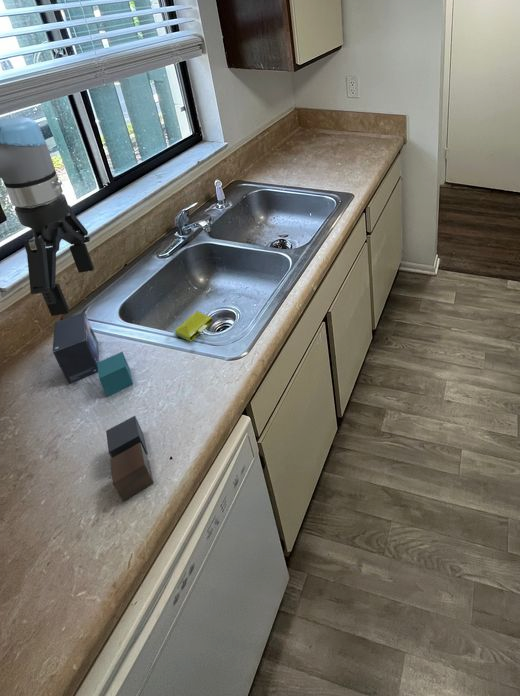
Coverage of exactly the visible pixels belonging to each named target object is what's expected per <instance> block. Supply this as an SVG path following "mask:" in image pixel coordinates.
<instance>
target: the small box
mask: <svg viewBox="0 0 520 696" xmlns="http://www.w3.org/2000/svg"><path fill="white" fill-rule="evenodd" d="M52 354H53V356H54V358H55V360H56V362H57V364H58V366H59V368H60V369H61V372H62V374H63V375H64V378H65V380H66V383H67V384H68V385H69V384H72V383H75V382H76V381H78V380H81V379H84V378H86V377H89V376H91V375H93V374H95V373H98V367H97V363H98V362H100V359H99V341H98V339H97V336H96V334H95V332H94V330H93V327H92V326H91V323H90V320H89V319H88V315H87V314H86V312H85V311H83V312H80V313H77V314H75V315H71V316H68V317H66V318H62V319H60V320H57V321H54V325H53V339H52Z"/></svg>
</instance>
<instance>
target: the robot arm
mask: <svg viewBox="0 0 520 696" xmlns="http://www.w3.org/2000/svg"><path fill="white" fill-rule="evenodd" d="M0 179H1V180H2V181H3V182H2V183H3V185H4V187H5V190H6V192H7V194H8V195H7V196H8V197H9V200H10V202H11V203H10V204H11V205H12V206H14V212H15V214H16V216H17V219H18V222H19V224H20V225H21V226H22V227H26V228H29V229H31V230H32V238H30V239H29V238H28V239H25V240H24V241H23V246H24V249H25V252H26V260H27V269H28V280H29V288H30V294H31V295H38V294H41V295H42V297H43V300H44V302H45V304H46V306H47V307H46V308H47V309H48V311H49V314H50V316H51V317H55V316H60V315H66V314H69V313H70V307H69V306H68V303H67V300H66V298H65V296H64V294H63V290H62V288H61V285H60V283H56V277H57V275H56V273H57V252H58V251H59V250H60V243H61V241H65V242H67V243H68V244H70V246H69V249H70V254H71V256H72V258H73V261H74V264H75V266H76V270H77V272H78V273H87V272H91V271H94V270H95V267H94V263H93V261H92V259H91V256H90V252H89V250H88V247H87V244H86V243H89V242H90V240H91V238H90V236H88V235H89V231H88V230H87V228H86V227H85V226H84V225H83V223H82V222H81V221H80V220H79V219H78V217H77V216H76V215H75V213H74V212H73V210H72V207H71V205H69V203H68V201H67V198H66V195H65V194H63V188H62V185H63V182H62V180H60V179H59V176H58V174H57V171H56V169H55V165H54V162H53V159H52V156H51V154H50V150H49V147H48V145H47V141H46V139H45V137H44V135H43V132H42V130H41V128H40V125H39V123H38V122H37V121H36V120H35V119H33V118H30V117H25V116H17V117H16V116H15V117H8V118H2V119H0Z"/></svg>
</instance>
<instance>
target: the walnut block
mask: <svg viewBox="0 0 520 696" xmlns="http://www.w3.org/2000/svg"><path fill="white" fill-rule="evenodd" d="M109 465H110V472H111V480H112V485H113V488H114V489H115V490H116V492H117V494H118V496H119V498H120V500H121V501H122V503H125V502H126V501H128V500H130V499H131V498H133V497H135V496H136V495H138V494H139V493H141V492H143V491H144V490H146V489H148V488H149V487H150V486H153V485H154V477H153V473H152V469H151V463H150V460H149V458H148V454H147V455H146V453H145V451H144V449H143V447H142V445H141V443H138V444H136V445H135V446H133V447H131V448H129V449H127V450H126V451H124V452H122V453H120V454H118V455H117V456H115V457H113V458H111V457H110V459H109Z"/></svg>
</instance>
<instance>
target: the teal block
mask: <svg viewBox="0 0 520 696" xmlns="http://www.w3.org/2000/svg"><path fill="white" fill-rule="evenodd" d="M97 367H98V372H97V374H98V380H99V382H100V384H101V386H102V387H103V390H104V392H105V394H106V396H107V397H110V396H112V395H114V394H116V393H119V392H120V391H123V390H125V389H128V387H131V386H133V385H134V381H133V376H132V372H131V368H130V366H129V363H128V361H127V359H126V356H125V354H124V352H123V351H120V352H118V353H116V354H114V355H112V356H110V357H107V358H105V359H102V360H99V362H98V363H97Z"/></svg>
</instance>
